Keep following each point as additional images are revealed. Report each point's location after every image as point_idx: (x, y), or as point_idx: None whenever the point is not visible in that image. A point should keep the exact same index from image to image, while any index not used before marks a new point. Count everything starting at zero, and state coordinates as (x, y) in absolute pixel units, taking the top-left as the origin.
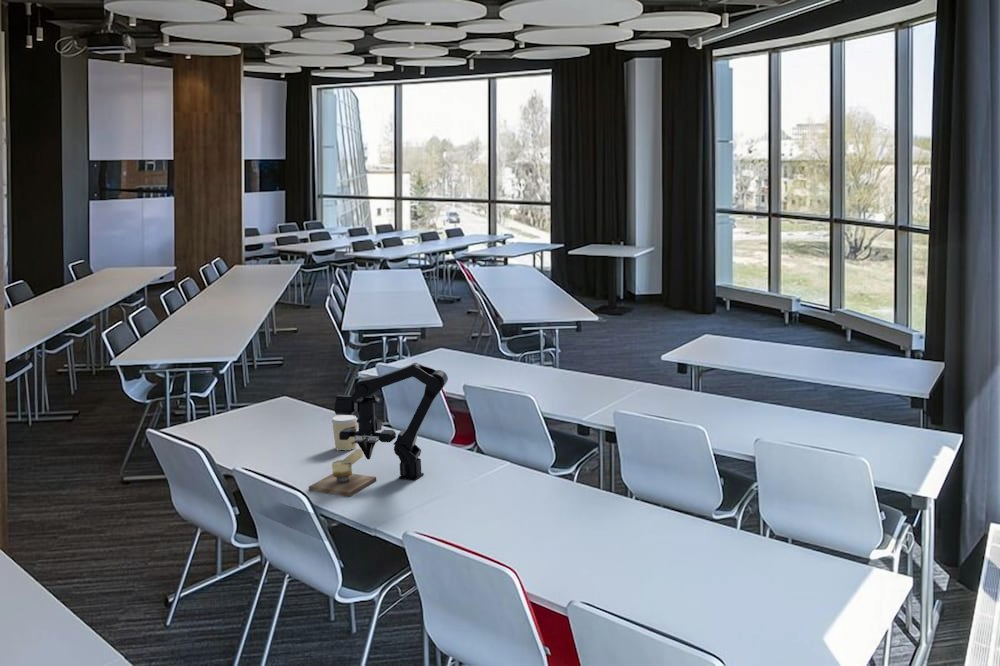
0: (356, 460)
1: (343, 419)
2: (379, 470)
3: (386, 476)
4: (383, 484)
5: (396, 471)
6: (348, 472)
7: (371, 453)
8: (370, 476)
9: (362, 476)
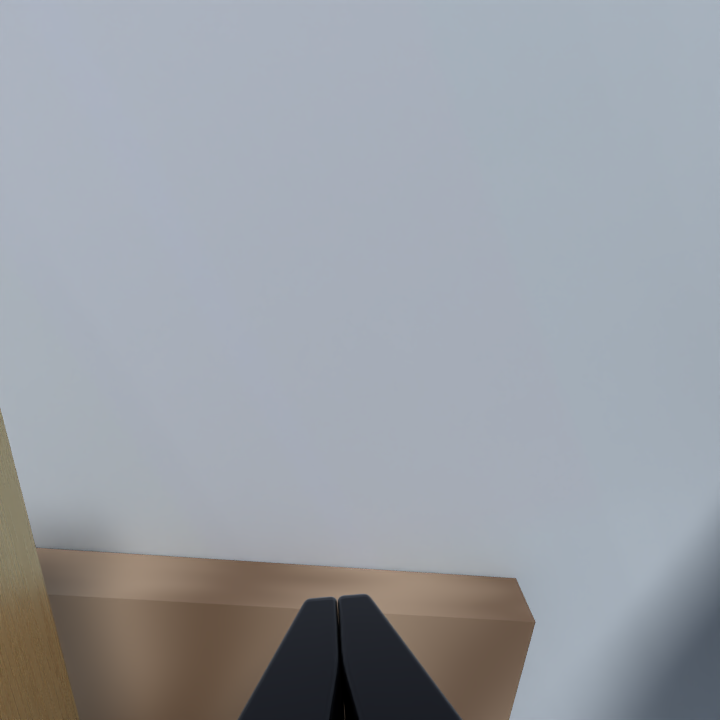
0: (66, 710)
1: None
2: (367, 119)
3: (594, 376)
4: (646, 647)
5: (694, 101)
6: None
7: (432, 703)
8: (444, 630)
9: None
